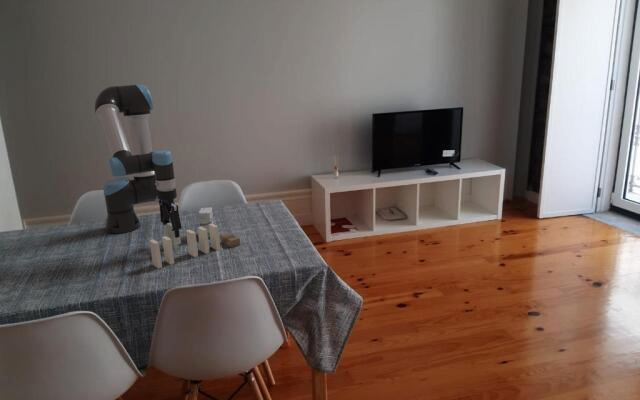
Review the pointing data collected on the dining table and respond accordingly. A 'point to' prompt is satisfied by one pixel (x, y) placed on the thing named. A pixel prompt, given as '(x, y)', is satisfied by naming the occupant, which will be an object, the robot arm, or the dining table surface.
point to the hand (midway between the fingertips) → (173, 241)
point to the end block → (230, 240)
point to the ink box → (206, 218)
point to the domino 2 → (171, 235)
